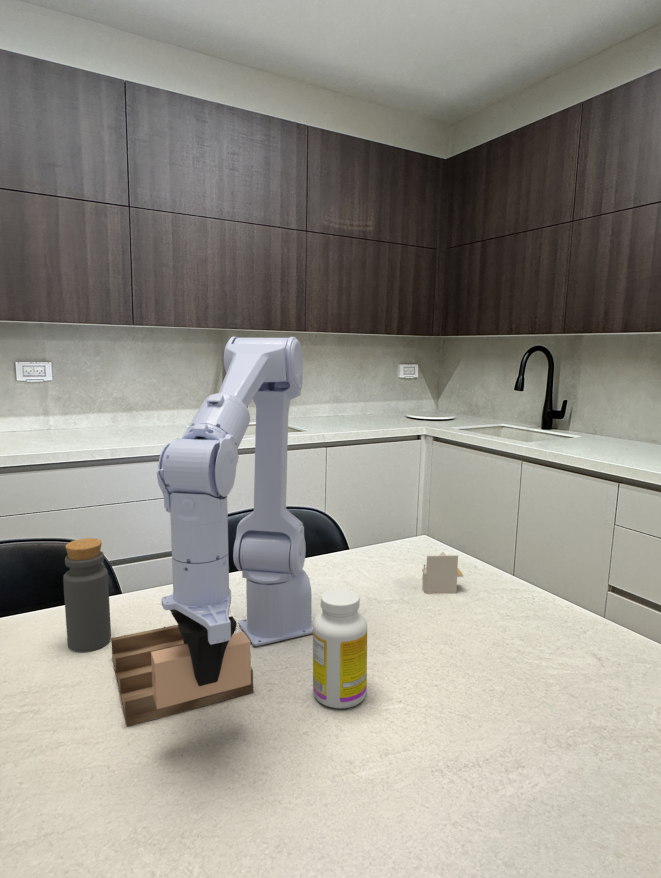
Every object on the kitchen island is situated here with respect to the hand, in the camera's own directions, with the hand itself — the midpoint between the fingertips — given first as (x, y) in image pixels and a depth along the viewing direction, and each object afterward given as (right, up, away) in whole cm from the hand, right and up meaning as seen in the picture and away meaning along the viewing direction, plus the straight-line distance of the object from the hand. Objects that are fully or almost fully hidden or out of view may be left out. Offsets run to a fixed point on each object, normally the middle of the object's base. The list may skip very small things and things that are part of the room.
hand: (203, 674), depth 60 cm
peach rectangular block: (0, -2, 0) cm, 2 cm away
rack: (-6, -6, +14) cm, 16 cm away
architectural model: (+33, -3, +40) cm, 52 cm away
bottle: (-21, -5, +22) cm, 31 cm away
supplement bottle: (+15, -7, +10) cm, 19 cm away
